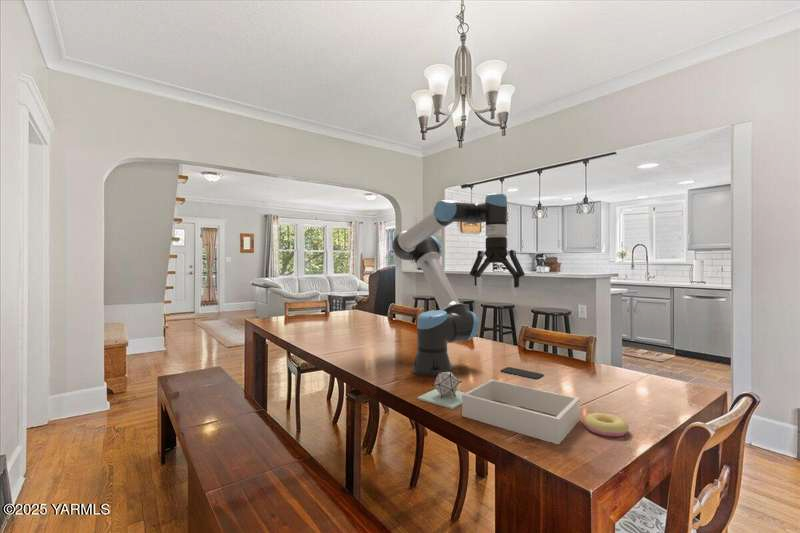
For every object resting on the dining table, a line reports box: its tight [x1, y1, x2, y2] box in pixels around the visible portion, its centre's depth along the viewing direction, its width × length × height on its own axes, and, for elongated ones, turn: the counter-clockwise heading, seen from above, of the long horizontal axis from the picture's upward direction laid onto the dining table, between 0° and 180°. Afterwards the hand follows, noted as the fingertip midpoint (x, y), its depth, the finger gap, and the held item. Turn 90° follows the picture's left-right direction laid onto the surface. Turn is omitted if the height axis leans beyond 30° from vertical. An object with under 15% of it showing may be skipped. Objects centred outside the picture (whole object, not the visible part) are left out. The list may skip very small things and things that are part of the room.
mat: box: [417, 388, 465, 410], centre depth 120 cm, size 13×13×1 cm
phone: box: [500, 366, 545, 380], centre depth 146 cm, size 7×1×15 cm
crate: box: [461, 378, 581, 445], centre depth 104 cm, size 26×18×6 cm
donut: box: [583, 412, 630, 438], centre depth 97 cm, size 10×5×9 cm
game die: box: [430, 369, 463, 399], centre depth 120 cm, size 9×8×10 cm
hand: (496, 295), depth 137 cm, fingers open, 13 cm apart
